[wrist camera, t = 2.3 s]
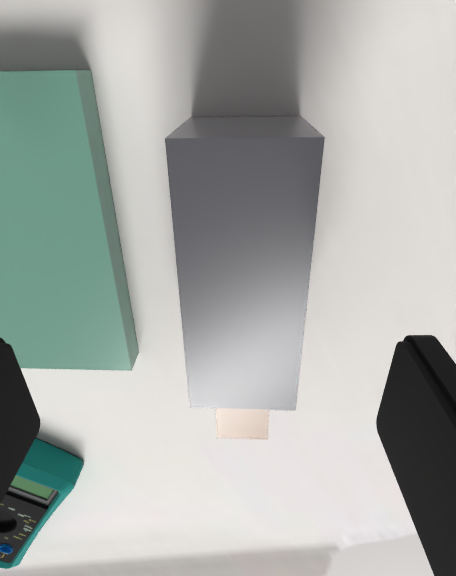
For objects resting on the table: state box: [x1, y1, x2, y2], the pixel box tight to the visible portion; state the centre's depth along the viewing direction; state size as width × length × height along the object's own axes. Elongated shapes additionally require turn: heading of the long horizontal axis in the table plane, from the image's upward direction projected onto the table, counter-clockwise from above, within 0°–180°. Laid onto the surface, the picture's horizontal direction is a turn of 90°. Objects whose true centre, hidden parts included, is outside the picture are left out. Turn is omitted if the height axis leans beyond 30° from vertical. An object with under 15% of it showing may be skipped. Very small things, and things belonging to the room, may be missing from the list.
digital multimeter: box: [0, 438, 84, 569], centre depth 28 cm, size 7×15×3 cm, turn 148°
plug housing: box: [165, 116, 324, 439], centre depth 16 cm, size 4×14×6 cm, turn 1°
